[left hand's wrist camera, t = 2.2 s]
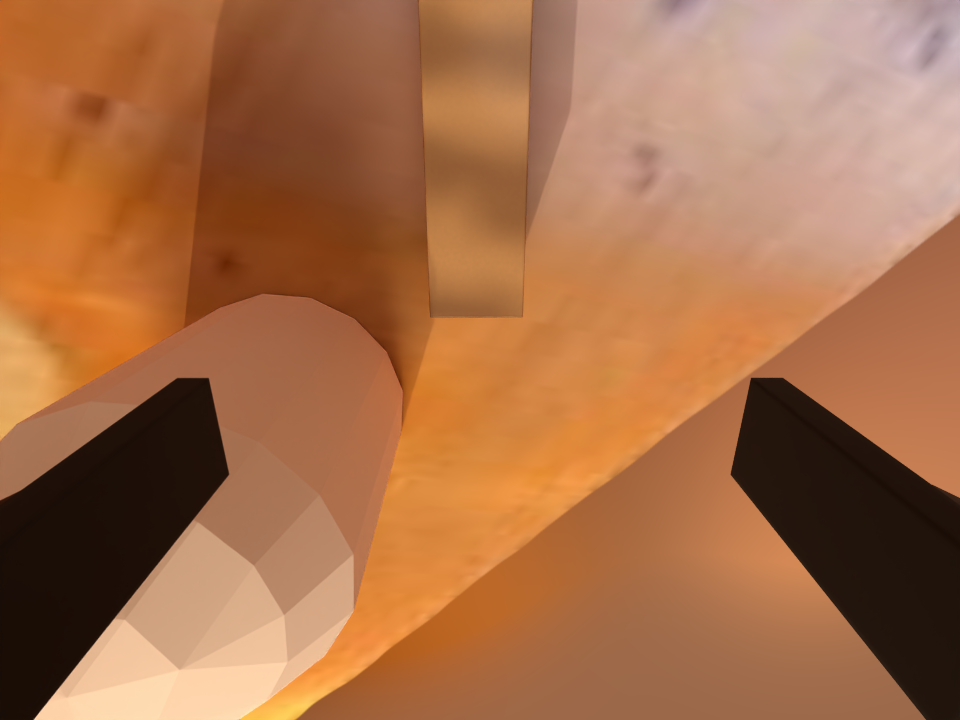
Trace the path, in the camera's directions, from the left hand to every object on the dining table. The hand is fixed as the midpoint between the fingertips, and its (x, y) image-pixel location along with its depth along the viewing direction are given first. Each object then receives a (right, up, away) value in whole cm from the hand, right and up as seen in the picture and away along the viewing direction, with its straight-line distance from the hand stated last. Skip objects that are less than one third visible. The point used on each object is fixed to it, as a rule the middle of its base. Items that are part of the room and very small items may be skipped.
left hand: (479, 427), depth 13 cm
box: (0, +21, +26) cm, 33 cm away
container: (-18, -2, +35) cm, 39 cm away
